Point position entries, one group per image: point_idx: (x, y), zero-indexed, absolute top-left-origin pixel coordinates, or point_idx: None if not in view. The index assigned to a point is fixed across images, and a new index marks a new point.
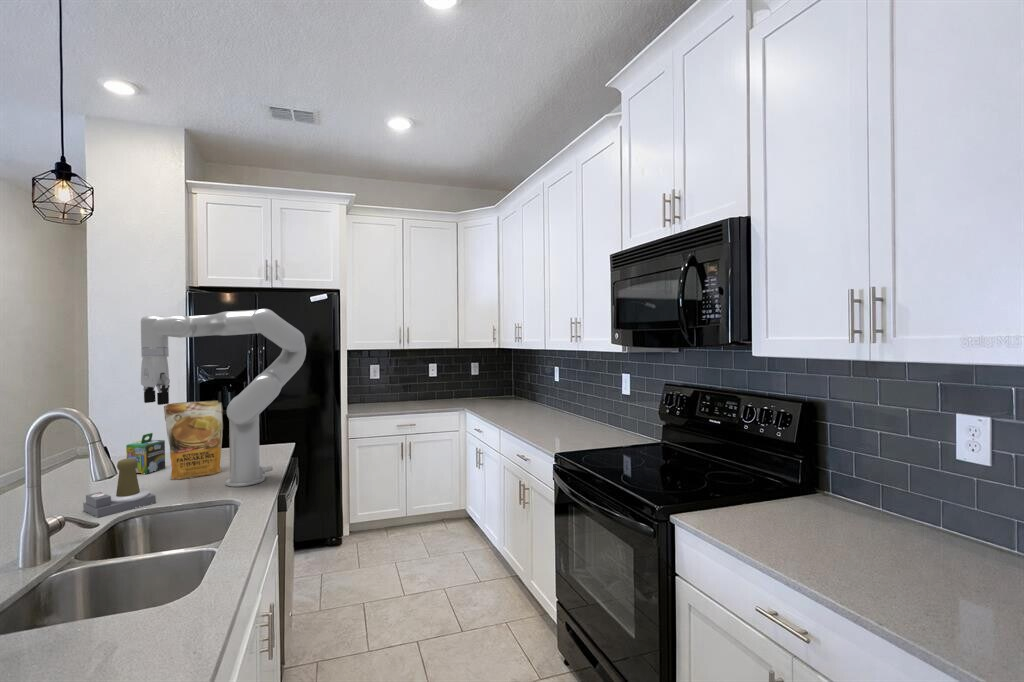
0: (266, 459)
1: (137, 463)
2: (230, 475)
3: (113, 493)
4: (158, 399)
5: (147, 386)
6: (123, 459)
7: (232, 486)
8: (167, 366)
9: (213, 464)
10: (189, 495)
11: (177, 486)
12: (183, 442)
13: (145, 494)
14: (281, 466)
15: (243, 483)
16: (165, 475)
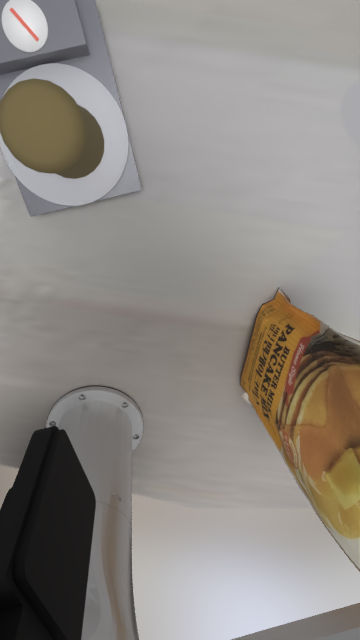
0: (286, 492)
1: (37, 171)
2: (94, 411)
3: (111, 100)
4: (19, 482)
5: (338, 612)
6: (38, 107)
7: (65, 395)
8: None
9: (251, 398)
10: (57, 299)
11: (186, 291)
12: (315, 376)
13: (29, 188)
14: (186, 503)
15: (48, 419)
16: (344, 285)
